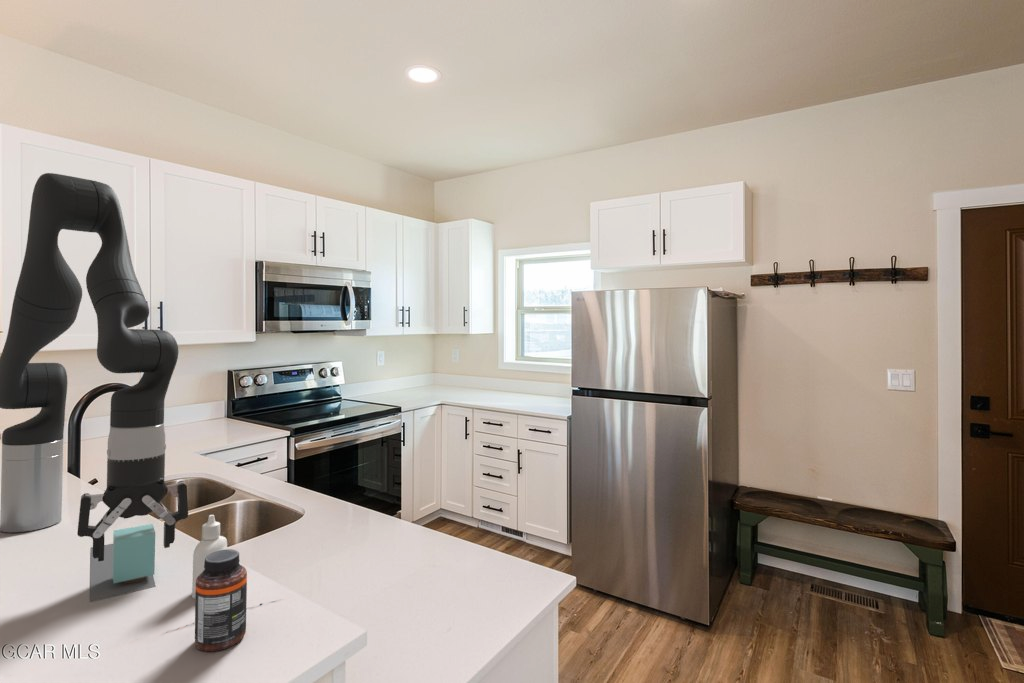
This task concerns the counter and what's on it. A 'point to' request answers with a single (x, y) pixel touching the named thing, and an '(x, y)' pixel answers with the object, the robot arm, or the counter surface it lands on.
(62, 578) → the counter surface
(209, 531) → the eye dropper bottle
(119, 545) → the teal rectangular block
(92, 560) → the mat
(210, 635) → the supplement bottle
